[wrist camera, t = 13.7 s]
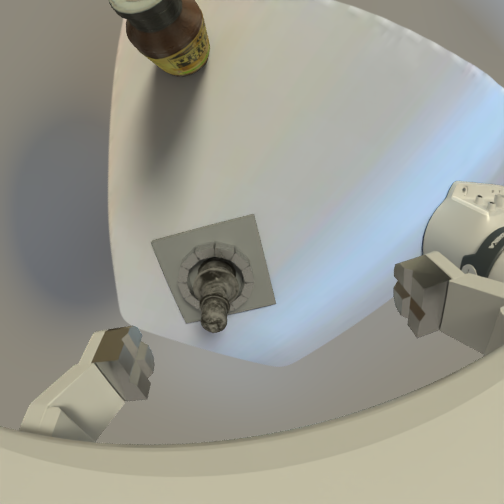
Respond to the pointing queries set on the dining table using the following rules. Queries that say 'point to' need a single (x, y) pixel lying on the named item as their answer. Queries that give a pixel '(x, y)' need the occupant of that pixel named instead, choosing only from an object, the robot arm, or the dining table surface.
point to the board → (229, 232)
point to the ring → (222, 252)
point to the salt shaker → (215, 292)
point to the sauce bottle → (167, 32)
